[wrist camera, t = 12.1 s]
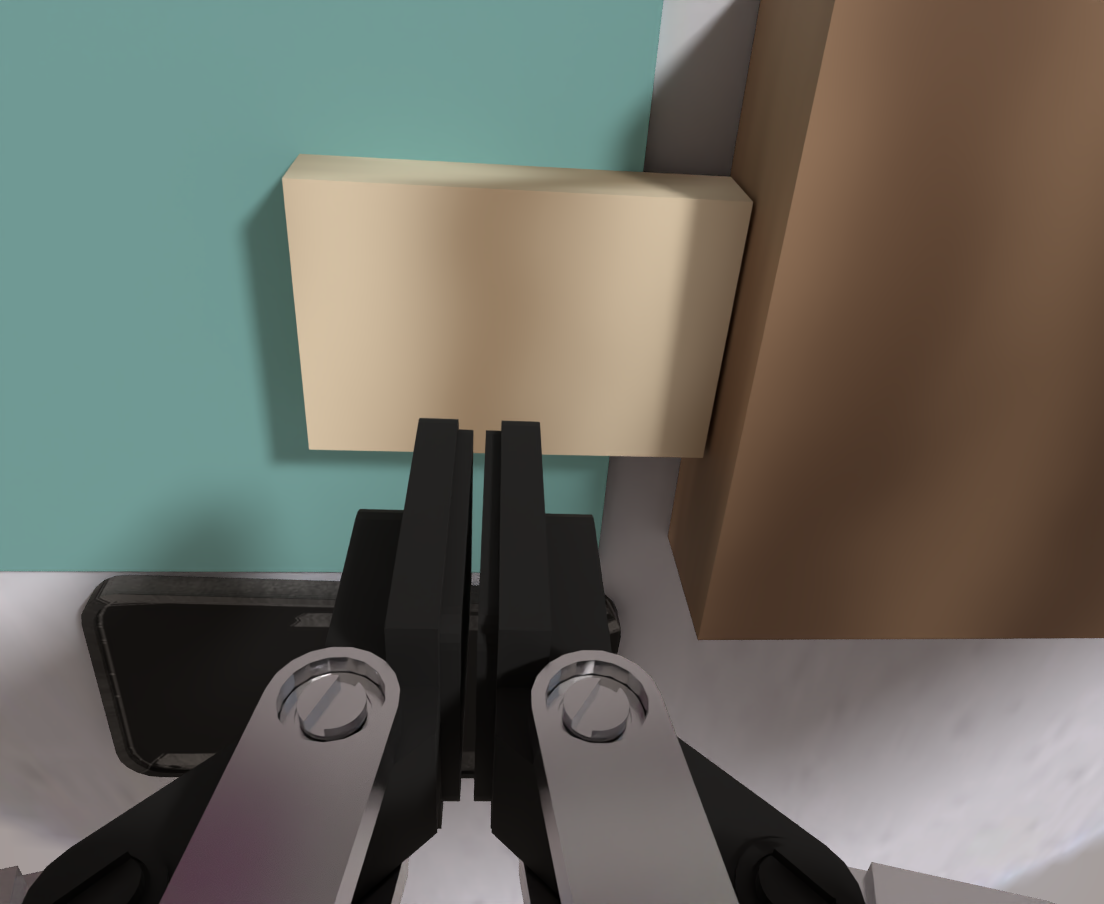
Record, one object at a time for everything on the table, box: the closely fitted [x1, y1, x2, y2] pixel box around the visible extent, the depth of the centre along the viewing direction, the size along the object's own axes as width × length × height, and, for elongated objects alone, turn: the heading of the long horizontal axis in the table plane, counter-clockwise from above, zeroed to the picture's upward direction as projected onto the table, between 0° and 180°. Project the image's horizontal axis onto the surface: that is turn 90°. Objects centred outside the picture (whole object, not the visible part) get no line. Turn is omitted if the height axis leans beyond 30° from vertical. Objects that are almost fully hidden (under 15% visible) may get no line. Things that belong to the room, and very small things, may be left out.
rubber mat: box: [0, 0, 663, 572], centre depth 19 cm, size 16×16×1 cm
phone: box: [81, 575, 621, 778], centre depth 26 cm, size 8×1×15 cm
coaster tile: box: [282, 154, 753, 458], centre depth 19 cm, size 9×6×2 cm, turn 86°
